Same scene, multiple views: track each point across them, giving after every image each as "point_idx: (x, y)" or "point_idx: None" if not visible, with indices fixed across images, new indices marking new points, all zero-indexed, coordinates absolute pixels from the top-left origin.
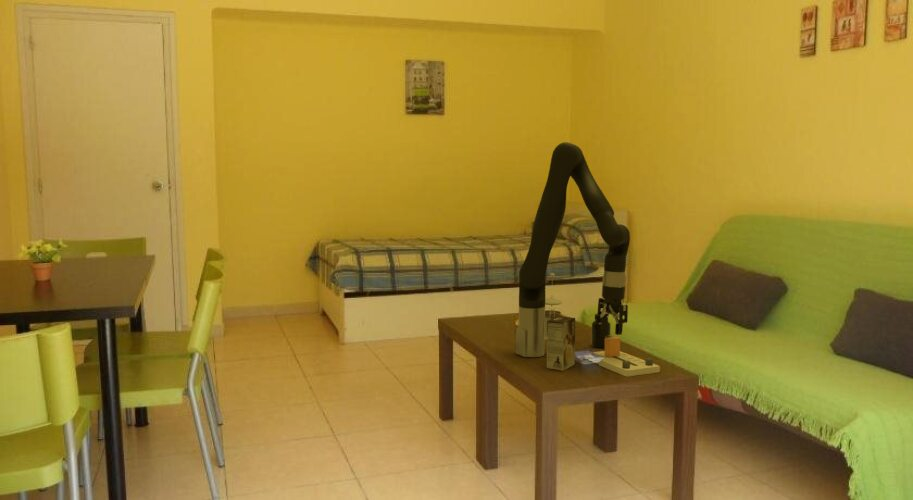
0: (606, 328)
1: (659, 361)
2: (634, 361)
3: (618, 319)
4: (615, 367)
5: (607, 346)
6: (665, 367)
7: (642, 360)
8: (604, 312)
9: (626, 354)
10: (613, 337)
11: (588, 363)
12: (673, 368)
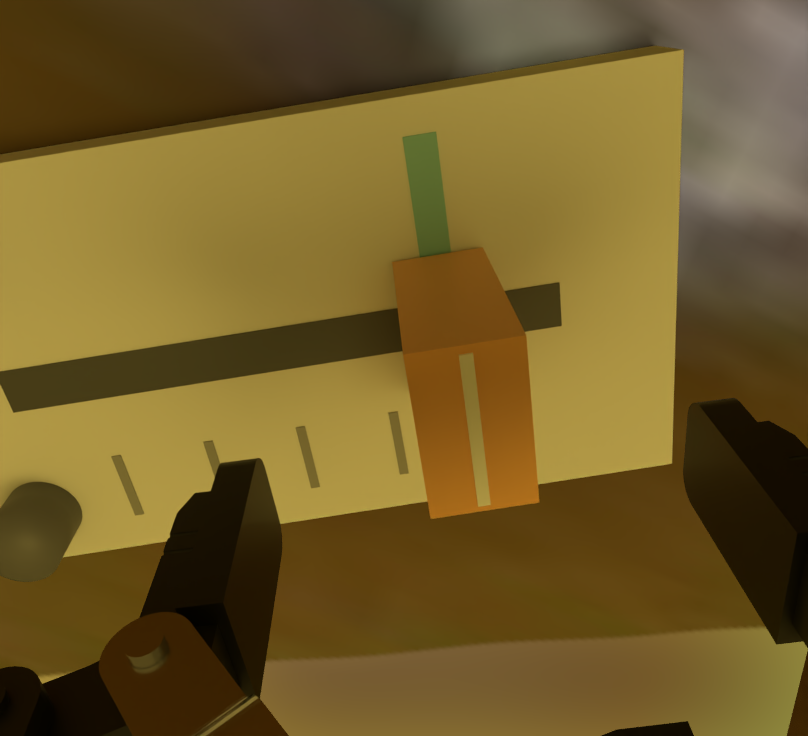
0: (686, 477)
1: (343, 648)
2: (179, 439)
3: (129, 730)
4: (2, 160)
5: (438, 301)
6: None
7: None
8: (799, 691)
9: None
10: (508, 460)
11: (457, 2)
12: None
